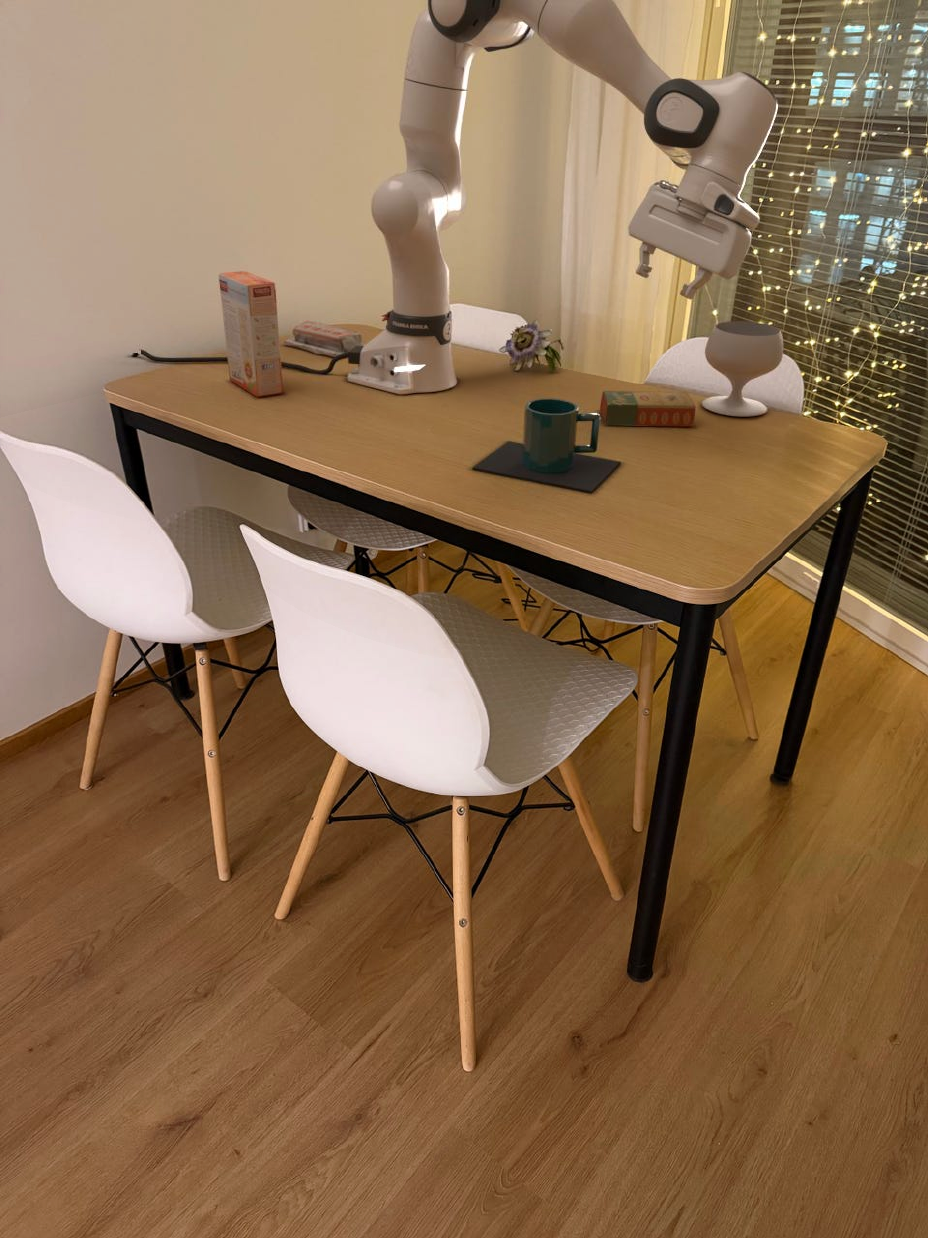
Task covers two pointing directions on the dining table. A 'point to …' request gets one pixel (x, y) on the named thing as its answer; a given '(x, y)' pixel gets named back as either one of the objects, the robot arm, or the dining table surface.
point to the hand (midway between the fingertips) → (662, 286)
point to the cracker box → (251, 332)
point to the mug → (554, 435)
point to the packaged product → (324, 339)
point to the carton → (647, 408)
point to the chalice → (742, 362)
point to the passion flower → (531, 347)
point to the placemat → (580, 477)
